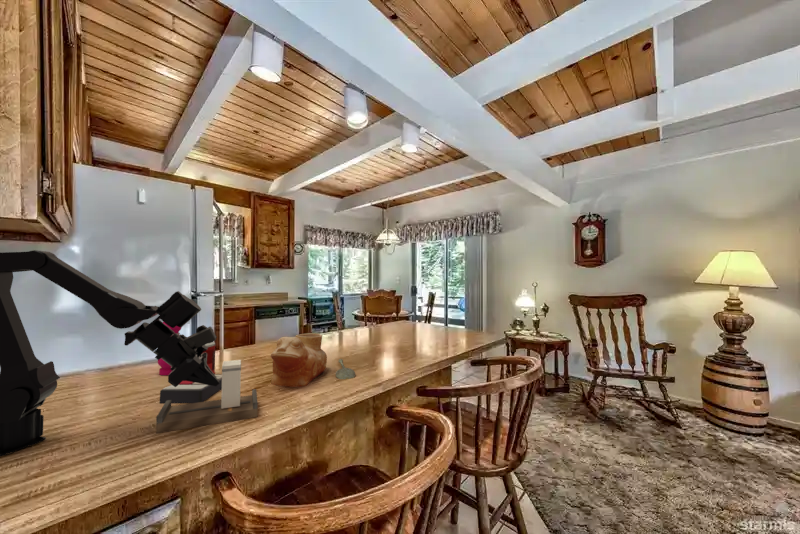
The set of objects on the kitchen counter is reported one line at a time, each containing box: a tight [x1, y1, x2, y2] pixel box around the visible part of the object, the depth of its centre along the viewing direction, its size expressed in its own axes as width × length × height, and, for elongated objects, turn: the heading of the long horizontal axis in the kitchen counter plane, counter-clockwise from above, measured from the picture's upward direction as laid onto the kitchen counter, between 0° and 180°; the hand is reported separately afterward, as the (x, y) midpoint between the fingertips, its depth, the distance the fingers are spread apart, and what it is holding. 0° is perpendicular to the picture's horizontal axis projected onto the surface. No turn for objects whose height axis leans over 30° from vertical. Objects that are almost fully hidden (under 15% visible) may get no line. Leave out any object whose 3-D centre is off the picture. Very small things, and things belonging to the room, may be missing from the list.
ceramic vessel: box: [270, 332, 328, 388], centre depth 110 cm, size 14×26×15 cm, turn 170°
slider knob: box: [221, 359, 242, 409], centre depth 82 cm, size 4×5×10 cm
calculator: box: [159, 374, 222, 404], centre depth 95 cm, size 11×4×15 cm
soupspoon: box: [335, 358, 356, 380], centre depth 119 cm, size 22×3×7 cm
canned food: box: [200, 341, 216, 374], centre depth 109 cm, size 8×8×11 cm
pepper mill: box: [157, 322, 183, 376], centre depth 114 cm, size 7×7×20 cm
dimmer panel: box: [155, 388, 259, 434], centre depth 80 cm, size 20×10×4 cm, turn 115°
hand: (217, 384), depth 80 cm, fingers closed
